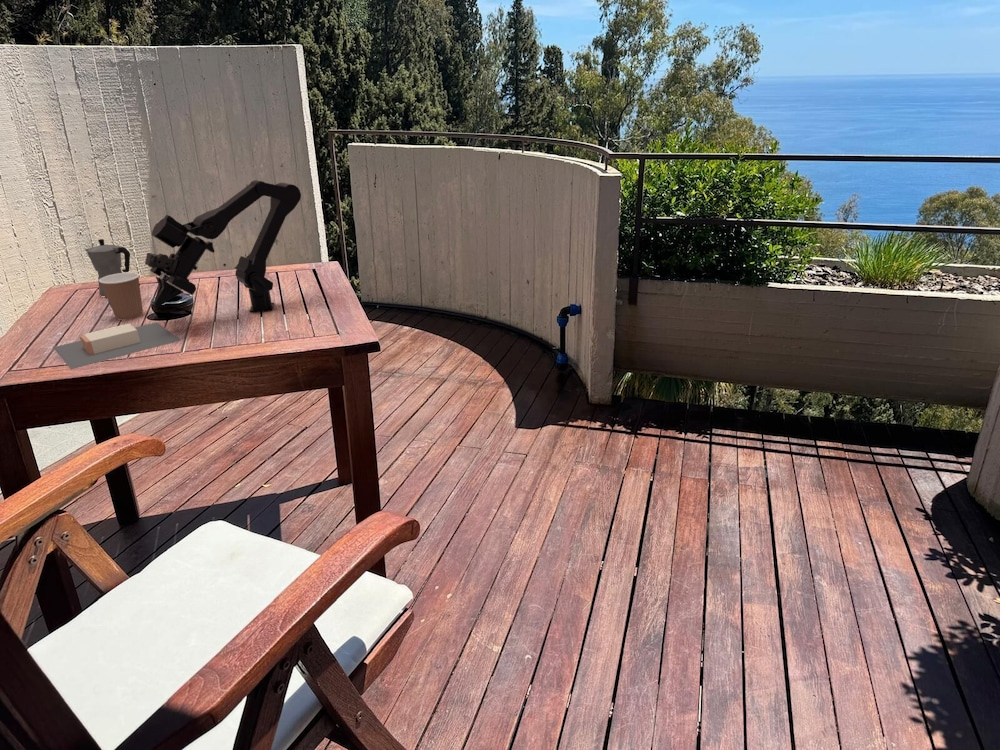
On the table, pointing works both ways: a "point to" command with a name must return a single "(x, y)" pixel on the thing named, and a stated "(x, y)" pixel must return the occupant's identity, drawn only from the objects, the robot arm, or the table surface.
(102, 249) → the coffeepot
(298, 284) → the table surface
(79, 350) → the mat
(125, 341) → the tan bar
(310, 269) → the table surface
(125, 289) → the coffee cup
